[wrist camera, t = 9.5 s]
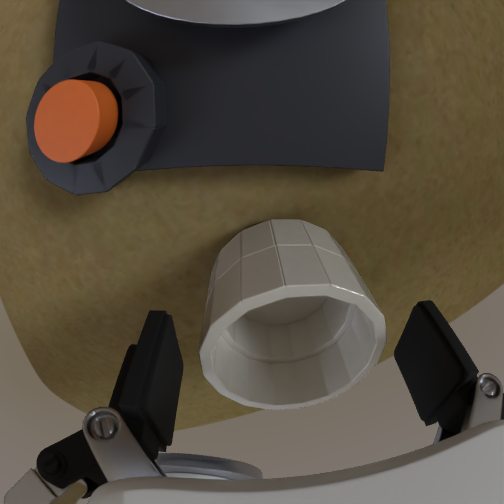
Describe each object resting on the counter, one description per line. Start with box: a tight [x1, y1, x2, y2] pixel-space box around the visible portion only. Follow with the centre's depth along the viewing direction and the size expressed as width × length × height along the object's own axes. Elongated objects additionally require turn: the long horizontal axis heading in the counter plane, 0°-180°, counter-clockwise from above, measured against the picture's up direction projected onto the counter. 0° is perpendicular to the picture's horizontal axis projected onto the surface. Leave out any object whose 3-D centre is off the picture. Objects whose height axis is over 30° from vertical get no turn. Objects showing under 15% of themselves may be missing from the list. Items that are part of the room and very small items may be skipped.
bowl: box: [199, 219, 387, 410], centre depth 12 cm, size 7×7×6 cm
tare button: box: [34, 79, 118, 163], centre depth 7 cm, size 3×3×2 cm
